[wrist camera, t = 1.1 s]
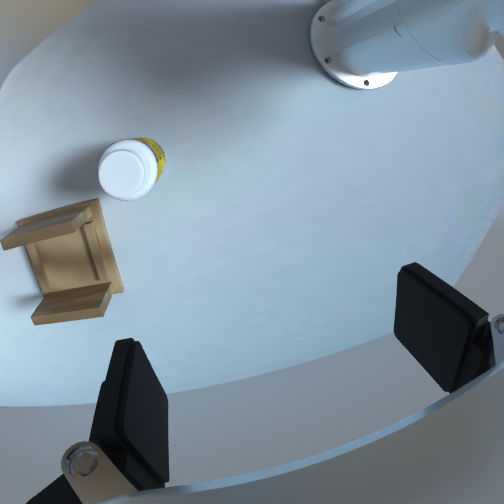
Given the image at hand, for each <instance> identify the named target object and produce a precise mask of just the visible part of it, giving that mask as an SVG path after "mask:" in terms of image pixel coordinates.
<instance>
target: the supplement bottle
mask: <svg viewBox="0 0 504 504" xmlns="http://www.w3.org/2000/svg"><path fill="white" fill-rule="evenodd" d="M164 168H165V155H164V152H163V150H162V148H161V147H160V146H159V145H158V144H157V143H156V142H155V141H153V140H151V139H148V138H135V139H127V140H122V141H119V142H116V143H114V144H113V145H111V146H110V147H109V148H108V149H107V150H106V151H105V152H104V153H103V155H102V157H101V159H100V162H99V165H98V177H99V182H100V184H101V186H102V188H103V189H104V191H105V192H106V193H108V194H109V195H110V196H111V197H113V198H115V199H118V200H121V201H132V200H136V199H138V198H140V197H142V196H144V195H145V194H146V193H147V192H148V191H149V190H150V189H151V188H152V187H153V186H154V184H155V183H156V182H157V180H158V179H159V178H160V177H161V175H162V173H163V171H164Z"/></svg>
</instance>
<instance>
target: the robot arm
mask: <svg viewBox="0 0 504 504" xmlns="http://www.w3.org/2000/svg"><path fill="white" fill-rule="evenodd" d="M319 20H320V21H319ZM498 33H500V34H501V35H502V36H503V37H504V0H333V1H331V2H328V3H326V4H325V5H324V6H322V7H321V8H320V9H319V10H318V11H317V12H316V14H315V15H314V17H313V19H312V22H311V25H310V42H311V46H312V49H313V52H314V54H315V56H316V58H317V60H318V62H319V63H320V64H321V66H322V67H323V68H324V70H325V71H326V72H327V73H328V74H330V75H331V76H332V77H333V78H334V79H336V80H337V81H339V82H340V83H342V84H344V85H346V86H348V87H352V88H355V89H363V90H367V89H375V88H379V87H382V86H384V85H386V84H388V83H389V82H390V81H391V80H392V79H393V78H394V77H395V76H396V74H397V72H401V71H407V70H414V69H421V68H428V67H436V66H445V65H455V64H463V63H469V62H473V61H476V60H479V59H480V58H482V57H483V56H485V55H486V54H487V53H488V51H489V50H490V49H491V47H492V46H493V44H494V42H495V40H496V38H497V35H498ZM325 60H327V63H326V62H325ZM363 82H364V83H363ZM488 316H489V314H488V313H487V312H486V311H484V310H483V309H482V308H480V307H479V306H478V305H476V304H475V303H474V302H472V301H471V300H469V299H468V298H467V297H465V296H464V295H463V294H461V293H460V292H459V291H457V290H456V289H454V288H453V287H452V286H450V285H449V284H447V283H446V282H444V281H443V280H442V279H440V278H439V277H437V276H436V275H434V274H433V273H431V272H430V271H428V270H427V269H425V268H424V267H423V266H421V265H420V264H418V263H416V262H415V263H411V264H408V265H405V266H403V267H401V270H400V272H399V273H398V277H397V296H396V310H395V321H394V334H395V336H396V338H397V339H398V340H399V341H400V342H401V343H402V344H403V345H404V347H405V348H406V349H407V350H408V351H409V352H410V353H411V354H412V355H413V357H414V358H415V359H416V360H417V361H418V362H419V363H420V364H421V365H422V367H423V368H424V369H425V370H426V371H427V372H428V373H429V374H430V376H431V377H432V378H433V379H434V380H435V381H436V382H437V384H439V386H440V387H441V388H442V389H443V390H444V391H445V392H449V393H450V395H448V396H446V397H444V398H443V399H441V400H439V401H437V402H436V403H434V404H432V405H430V406H428V407H427V408H425V409H423V410H421V411H419V412H417V413H415V414H413V415H411V416H409V417H407V418H405V419H403V420H401V421H399V422H397V423H395V424H393V425H390V426H388V427H386V428H384V429H382V430H380V431H377V432H375V433H373V434H370V435H368V436H365V437H363V438H361V439H358V440H356V441H353V442H351V443H348V444H345V445H343V446H340V447H338V448H335V449H332V450H329V451H326V452H323V453H320V454H318V455H314V456H312V457H308V458H305V459H302V460H299V461H295V462H292V463H288V464H285V465H281V466H278V467H274V468H270V469H266V470H263V471H258V472H254V473H249V474H245V475H240V476H235V477H230V478H225V479H219V480H215V481H208V482H202V483H196V484H190V485H182V486H173V487H167V488H165V483H166V482H169V454H168V453H169V451H168V399H167V396H166V393H165V391H164V389H163V388H162V386H161V384H160V382H159V380H158V378H157V376H156V374H155V372H154V370H153V368H152V366H151V364H150V362H149V360H148V358H147V356H146V354H145V352H144V350H143V348H142V345H141V344H140V342H139V341H134V339H133V338H127V339H122V340H117V341H116V342H115V345H114V349H113V352H112V356H111V360H110V364H109V368H108V371H107V375H106V379H105V381H104V382H102V385H101V388H100V392H99V396H98V401H97V405H96V409H95V414H94V418H93V423H92V428H91V433H90V438H89V442H87V441H83V442H78V443H76V444H74V445H72V446H71V447H70V448H68V449H67V450H66V452H65V453H64V455H63V457H62V460H61V468H62V471H63V474H62V475H61V476H60V477H59V478H57V479H56V480H55V481H54V482H52V483H51V484H50V485H49V486H47V487H46V488H45V489H43V490H42V491H41V492H40V493H38V494H37V495H36V496H34V497H33V498H32V499H30V500H29V501H28V502H27V503H26V504H504V314H500V315H497V316H495V317H494V318H493V319H492V321H491V323H490V322H489V321H488Z"/></svg>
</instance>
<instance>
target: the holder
mask: <svg viewBox="0 0 504 504" xmlns="http://www.w3.org/2000/svg"><path fill="white" fill-rule="evenodd" d="M17 223H18V226H19V227H18V228H17V229H16V230H14V231H13V232H11V233H10V234H9V235H7V236H6V237H4V238H3V239H2V240H0V241H1V244H2V247H3V250H8V249H11V248H15V247H19V246H23V245H25V248H26V251H27V254H28V257H29V260H30V263H31V266H32V268H33V271H34V274H35V276H36V279H37V282H38V284H39V287H40V289H41V292H42V294H43V296H44V299H43V300H42V301H41V303H40V304H39V306H38V307H37V308H36V310H35V311H34V313H33V314H32V316H31V319H32V321H33V323H34V325H42V324H50V323H58V322H66V321H74V320H81V319H89V318H96V317H103V316H104V313H105V311H106V309H107V306H108V304H109V301H110V299H111V297H112V294H116V293H122V292H123V290H124V287H123V284H122V281H121V278H120V274H119V271H118V268H117V265H116V261H115V258H114V255H113V251H112V248H111V244H110V241H109V237H108V233H107V230H106V226H105V222H104V218H103V214H102V210H101V206H100V202H99V198H97V199H93V200H89V201H85V202H81V203H77V204H73V205H69V206H66V207H62V208H58V209H55V210H51V211H47V212H44V213H40V214H37V215H34V216H30V217H27V218H24V219H21V220H19V221H17Z"/></svg>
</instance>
